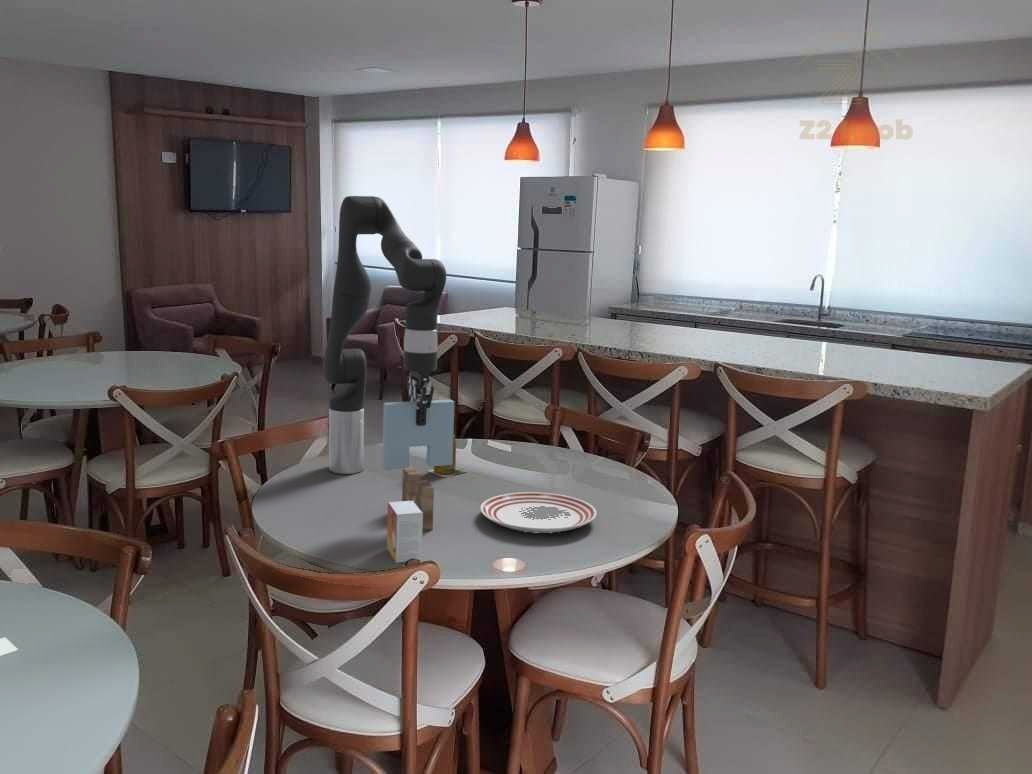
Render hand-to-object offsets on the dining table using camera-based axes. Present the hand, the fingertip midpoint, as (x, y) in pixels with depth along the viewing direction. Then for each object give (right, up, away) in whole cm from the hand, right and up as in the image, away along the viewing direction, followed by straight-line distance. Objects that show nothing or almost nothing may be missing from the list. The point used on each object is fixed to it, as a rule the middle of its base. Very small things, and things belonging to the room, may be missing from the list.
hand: (418, 423), depth 201 cm
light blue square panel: (0, -10, +2) cm, 10 cm away
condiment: (+3, -15, +42) cm, 45 cm away
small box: (-1, -27, -17) cm, 32 cm away
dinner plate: (+27, -24, +7) cm, 37 cm away
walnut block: (-1, -22, +5) cm, 23 cm away
